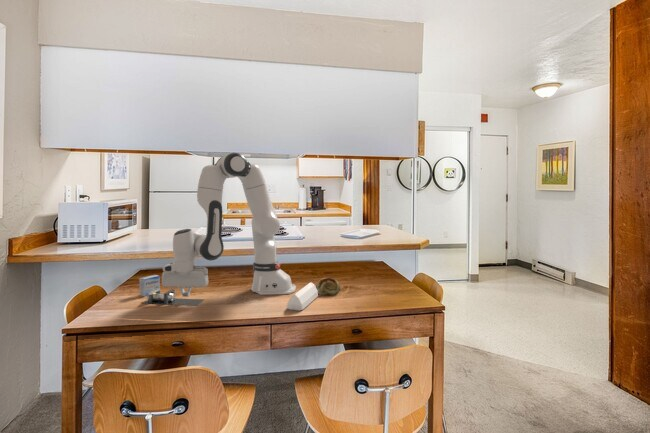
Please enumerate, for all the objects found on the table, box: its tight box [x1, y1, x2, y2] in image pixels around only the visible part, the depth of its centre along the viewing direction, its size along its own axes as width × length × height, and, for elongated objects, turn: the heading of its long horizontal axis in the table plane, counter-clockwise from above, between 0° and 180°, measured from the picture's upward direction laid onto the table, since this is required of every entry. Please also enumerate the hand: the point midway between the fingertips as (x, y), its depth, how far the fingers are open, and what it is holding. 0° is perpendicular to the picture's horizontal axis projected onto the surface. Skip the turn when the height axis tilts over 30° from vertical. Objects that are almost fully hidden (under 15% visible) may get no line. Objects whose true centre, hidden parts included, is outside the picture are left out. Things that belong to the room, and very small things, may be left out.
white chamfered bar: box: [286, 281, 319, 312], centre depth 163 cm, size 7×7×24 cm
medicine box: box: [138, 274, 161, 297], centre depth 172 cm, size 8×4×9 cm, turn 148°
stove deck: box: [141, 287, 205, 307], centre depth 161 cm, size 25×9×5 cm, turn 86°
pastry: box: [315, 277, 341, 296], centre depth 179 cm, size 14×12×8 cm
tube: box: [146, 292, 176, 301], centre depth 162 cm, size 11×3×3 cm, turn 86°
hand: (186, 296), depth 161 cm, fingers closed
